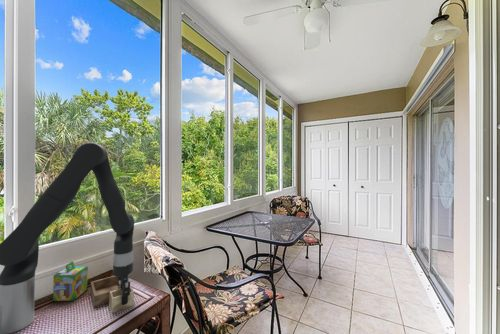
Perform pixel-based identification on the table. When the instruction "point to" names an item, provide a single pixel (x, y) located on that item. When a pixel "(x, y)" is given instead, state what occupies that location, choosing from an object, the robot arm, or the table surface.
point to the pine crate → (120, 300)
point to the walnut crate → (103, 290)
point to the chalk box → (70, 283)
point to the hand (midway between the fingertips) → (122, 300)
